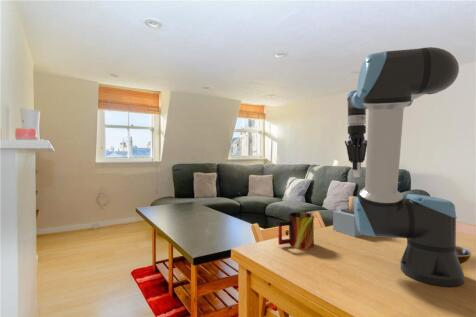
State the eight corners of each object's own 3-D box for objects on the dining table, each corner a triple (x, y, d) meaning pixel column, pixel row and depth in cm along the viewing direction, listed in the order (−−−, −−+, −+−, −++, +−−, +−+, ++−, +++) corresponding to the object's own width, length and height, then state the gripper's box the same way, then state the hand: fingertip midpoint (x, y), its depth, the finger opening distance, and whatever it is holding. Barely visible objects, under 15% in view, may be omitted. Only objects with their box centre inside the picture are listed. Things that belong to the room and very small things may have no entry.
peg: (354, 219, 119) (354, 198, 119) (347, 218, 123) (347, 196, 122) (360, 218, 121) (360, 197, 121) (353, 217, 124) (353, 196, 124)
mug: (277, 247, 102) (277, 216, 102) (297, 239, 112) (297, 211, 111) (298, 253, 95) (298, 221, 95) (318, 244, 105) (318, 214, 104)
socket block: (354, 237, 113) (354, 214, 113) (333, 230, 124) (333, 209, 124) (375, 232, 119) (375, 210, 119) (353, 226, 130) (353, 206, 130)
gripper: (353, 124, 112) (353, 178, 113) (373, 124, 118) (373, 176, 119) (339, 125, 119) (339, 177, 120) (359, 126, 125) (359, 175, 125)
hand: (356, 176), depth 119 cm, fingers closed
